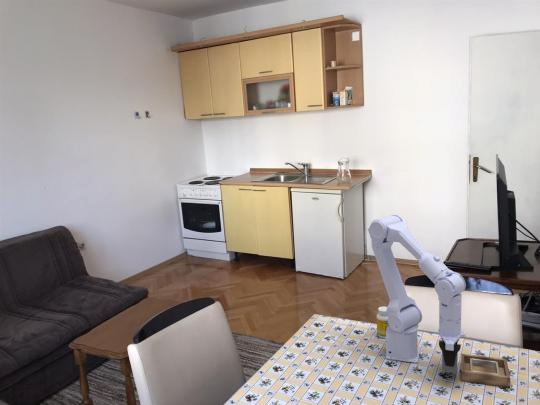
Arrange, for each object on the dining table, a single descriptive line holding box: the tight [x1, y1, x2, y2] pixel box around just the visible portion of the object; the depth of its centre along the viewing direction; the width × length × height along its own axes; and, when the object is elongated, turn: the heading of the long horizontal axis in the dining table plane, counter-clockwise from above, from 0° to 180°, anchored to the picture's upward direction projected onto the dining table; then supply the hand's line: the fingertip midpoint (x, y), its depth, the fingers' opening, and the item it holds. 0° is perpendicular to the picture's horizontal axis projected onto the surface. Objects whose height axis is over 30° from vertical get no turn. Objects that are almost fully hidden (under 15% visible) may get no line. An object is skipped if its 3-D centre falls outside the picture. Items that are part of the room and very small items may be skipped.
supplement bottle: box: [376, 306, 389, 339], centre depth 153 cm, size 5×5×10 cm
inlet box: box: [460, 353, 511, 389], centre depth 126 cm, size 12×10×3 cm
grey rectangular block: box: [441, 352, 459, 374], centre depth 127 cm, size 4×4×6 cm
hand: (449, 361), depth 127 cm, fingers closed on grey rectangular block, 4 cm apart
